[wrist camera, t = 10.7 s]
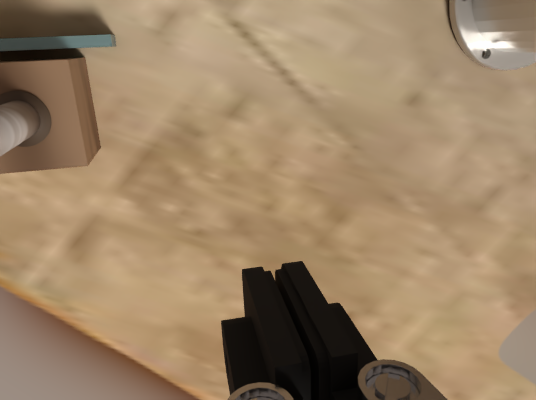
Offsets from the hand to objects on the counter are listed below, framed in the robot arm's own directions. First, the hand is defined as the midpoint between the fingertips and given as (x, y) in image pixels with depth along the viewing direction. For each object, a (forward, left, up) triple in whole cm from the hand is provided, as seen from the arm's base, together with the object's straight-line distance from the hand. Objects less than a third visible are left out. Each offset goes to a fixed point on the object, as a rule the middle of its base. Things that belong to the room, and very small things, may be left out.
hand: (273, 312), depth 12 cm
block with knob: (+12, -3, -27) cm, 30 cm away
